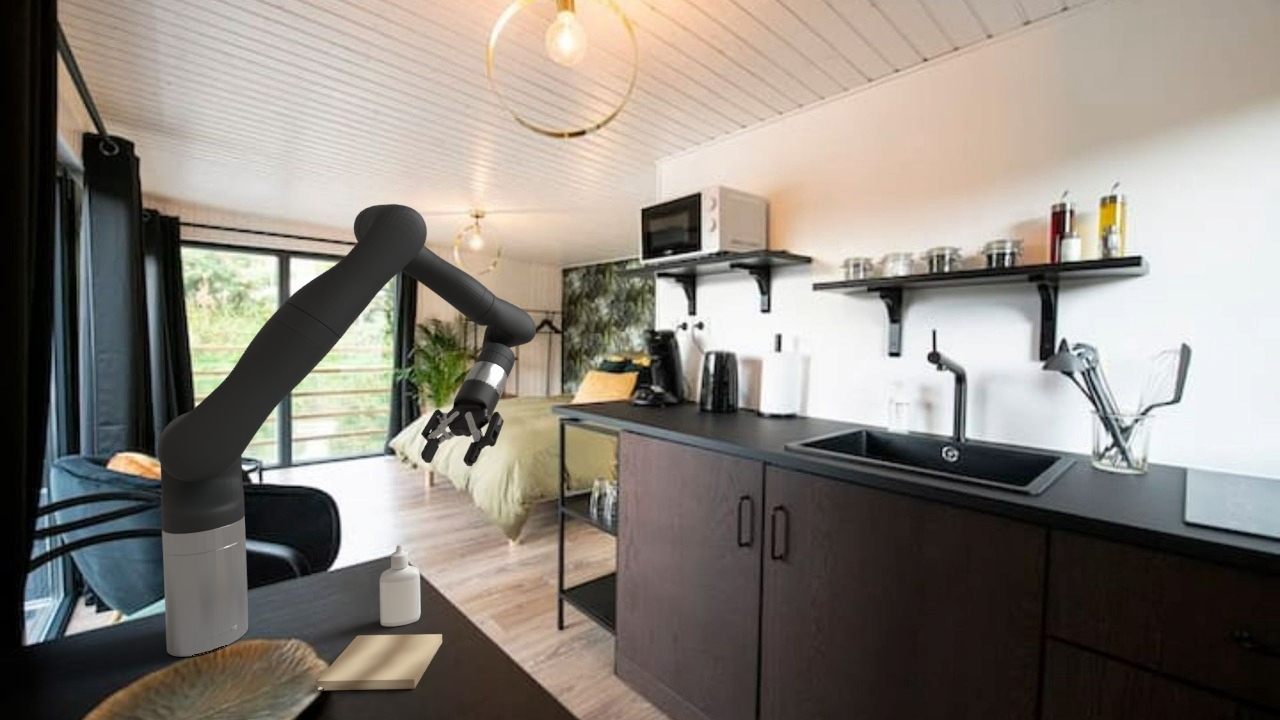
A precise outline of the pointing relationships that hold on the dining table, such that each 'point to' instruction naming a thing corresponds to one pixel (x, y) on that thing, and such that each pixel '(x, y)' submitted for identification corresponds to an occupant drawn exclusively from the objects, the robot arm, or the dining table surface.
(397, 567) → the eye dropper bottle
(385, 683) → the oak board
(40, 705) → the dining table surface
